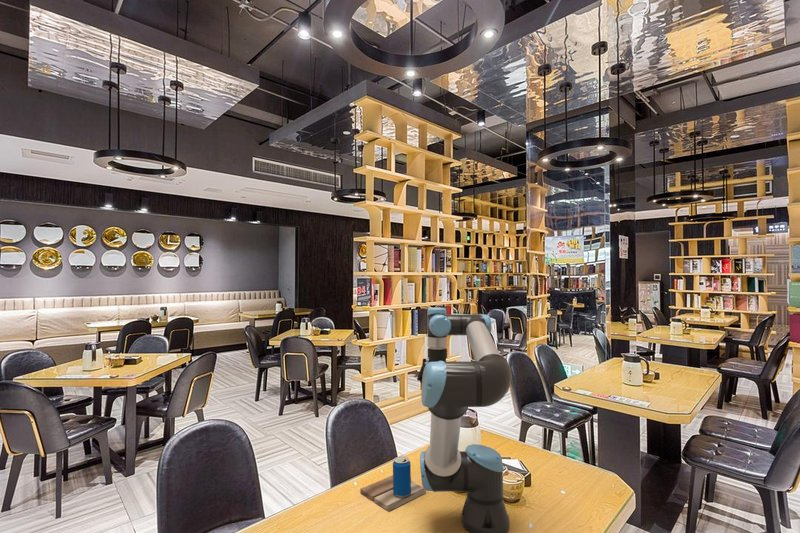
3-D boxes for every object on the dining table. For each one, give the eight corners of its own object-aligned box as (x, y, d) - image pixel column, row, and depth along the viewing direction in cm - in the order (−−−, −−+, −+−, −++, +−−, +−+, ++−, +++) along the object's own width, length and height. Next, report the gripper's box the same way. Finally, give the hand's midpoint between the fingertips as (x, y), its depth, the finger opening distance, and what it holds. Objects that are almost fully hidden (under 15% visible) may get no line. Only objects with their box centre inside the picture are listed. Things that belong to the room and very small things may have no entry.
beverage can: (409, 499, 137) (408, 463, 138) (391, 497, 138) (390, 462, 139) (412, 490, 144) (411, 456, 145) (395, 488, 145) (394, 455, 146)
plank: (425, 492, 145) (425, 488, 145) (388, 511, 133) (388, 506, 133) (411, 485, 151) (411, 480, 151) (374, 502, 139) (374, 497, 139)
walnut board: (410, 485, 151) (410, 480, 151) (373, 501, 139) (373, 497, 139) (396, 477, 157) (396, 473, 157) (360, 493, 145) (360, 488, 145)
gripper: (469, 350, 144) (469, 408, 143) (421, 343, 163) (421, 395, 162) (455, 352, 139) (456, 413, 138) (408, 345, 158) (408, 398, 157)
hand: (437, 403), depth 150 cm, fingers open, 13 cm apart
